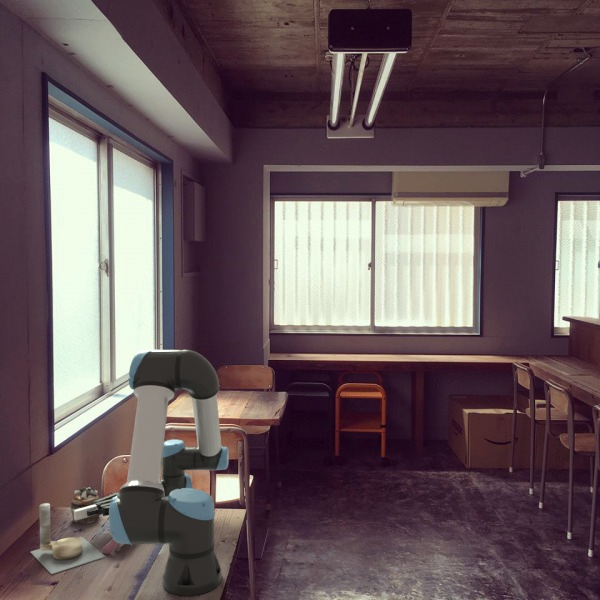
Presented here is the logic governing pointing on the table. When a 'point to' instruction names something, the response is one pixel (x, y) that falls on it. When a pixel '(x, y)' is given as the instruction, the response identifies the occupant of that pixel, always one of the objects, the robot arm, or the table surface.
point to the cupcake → (84, 502)
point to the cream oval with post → (62, 547)
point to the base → (59, 565)
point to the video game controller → (111, 547)
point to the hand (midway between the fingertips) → (74, 515)
